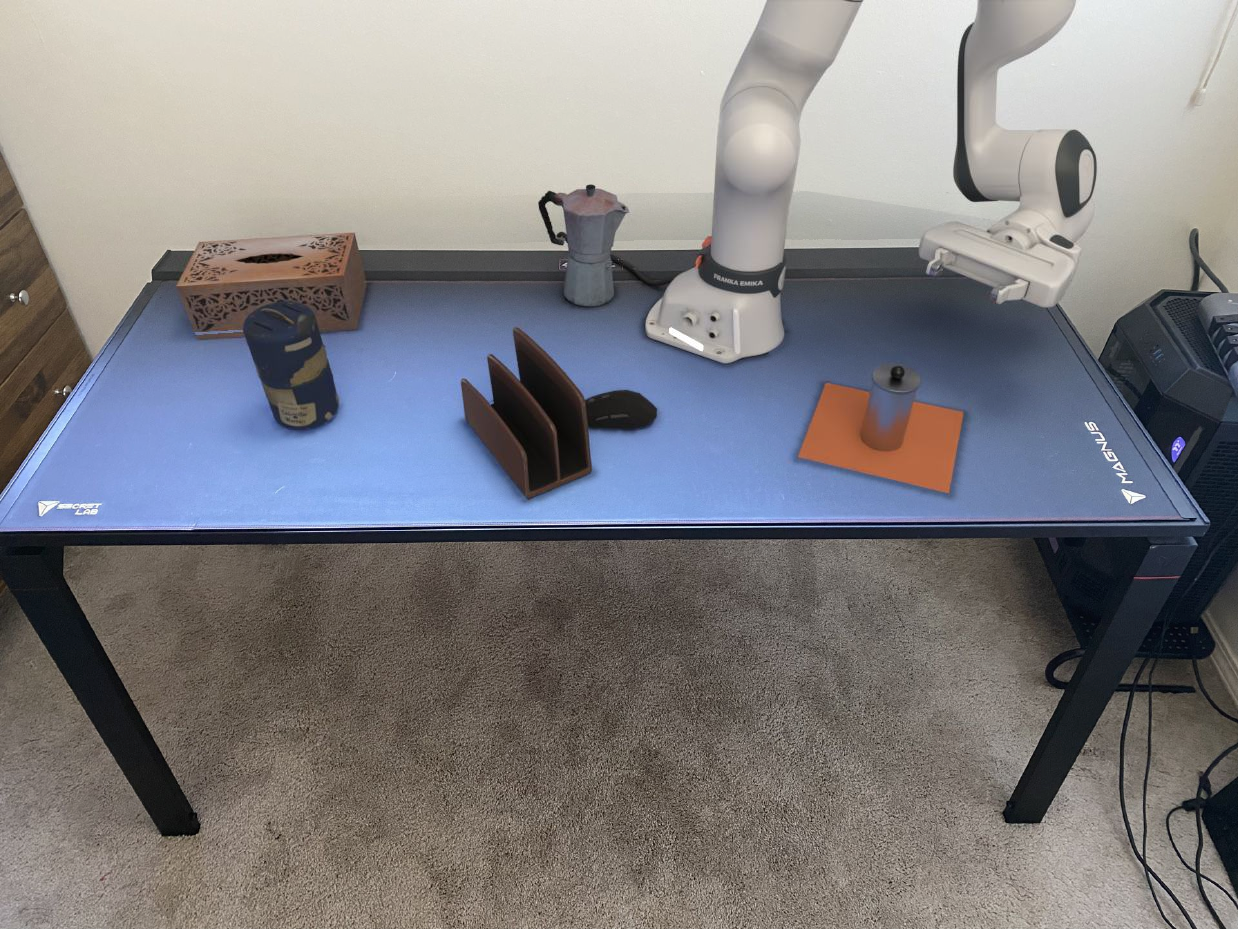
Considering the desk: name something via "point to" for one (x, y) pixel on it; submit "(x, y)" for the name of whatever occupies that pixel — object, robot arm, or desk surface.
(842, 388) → the napkin
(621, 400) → the gaming mouse
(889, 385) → the pot
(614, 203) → the moka pot
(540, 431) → the letter holder
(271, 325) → the canister
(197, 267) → the tissue box cover
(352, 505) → the desk surface
